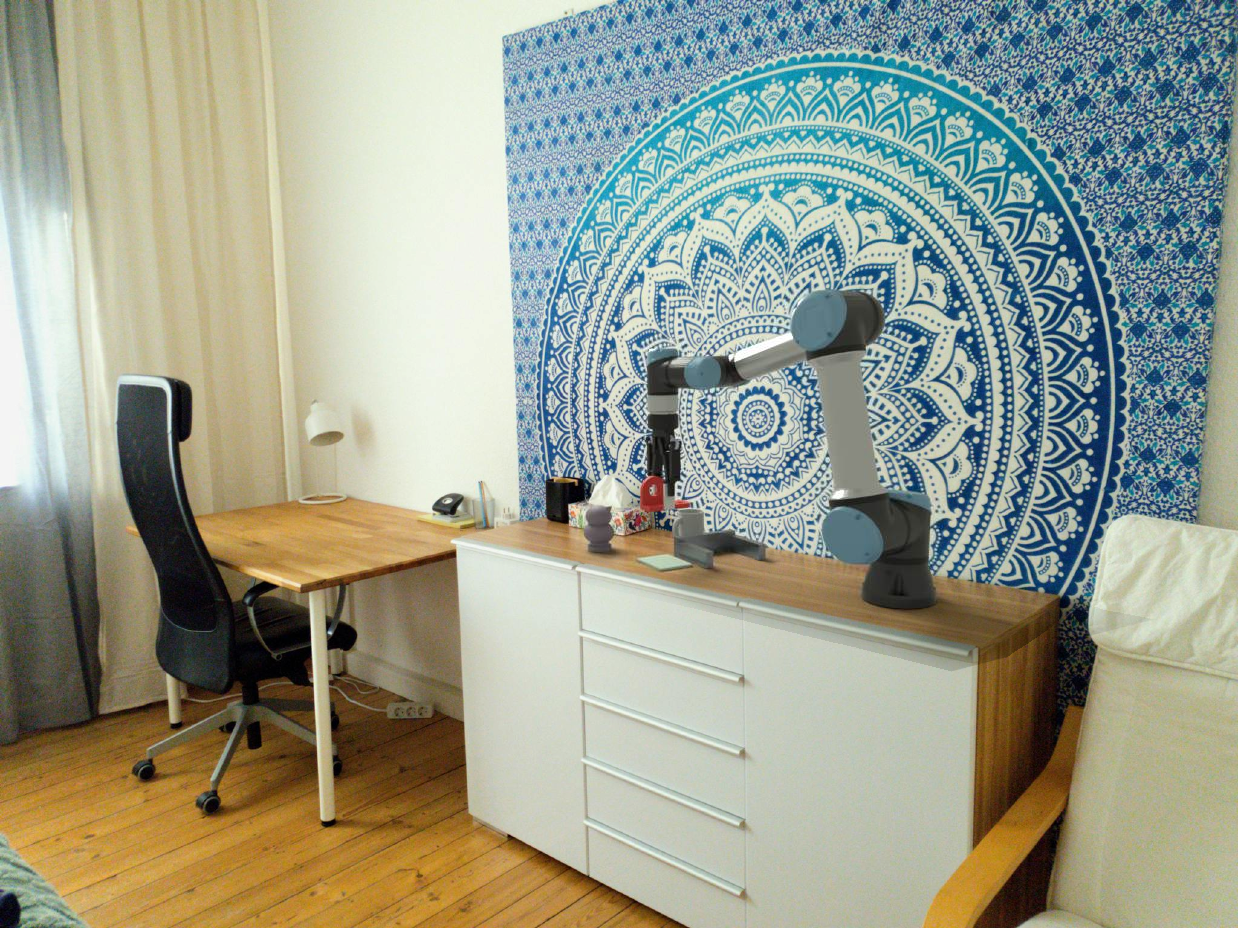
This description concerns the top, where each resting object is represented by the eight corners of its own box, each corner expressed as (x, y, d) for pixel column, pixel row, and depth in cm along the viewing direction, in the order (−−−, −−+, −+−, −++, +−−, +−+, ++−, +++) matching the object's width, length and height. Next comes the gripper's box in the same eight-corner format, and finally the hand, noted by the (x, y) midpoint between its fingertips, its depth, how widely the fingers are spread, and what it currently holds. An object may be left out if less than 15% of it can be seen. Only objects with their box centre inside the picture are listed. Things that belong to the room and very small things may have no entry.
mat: (692, 566, 214) (692, 564, 214) (660, 571, 210) (660, 568, 210) (667, 556, 225) (667, 554, 224) (636, 560, 220) (636, 558, 220)
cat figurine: (577, 549, 233) (576, 505, 232) (597, 544, 239) (596, 501, 237) (601, 554, 228) (600, 508, 226) (621, 548, 234) (620, 504, 232)
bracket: (649, 512, 211) (649, 479, 210) (640, 508, 215) (640, 477, 214) (691, 507, 216) (692, 475, 215) (682, 504, 220) (682, 473, 219)
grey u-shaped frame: (765, 559, 220) (765, 539, 219) (706, 568, 212) (706, 548, 211) (721, 544, 237) (721, 526, 236) (665, 552, 229) (664, 533, 228)
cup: (709, 543, 238) (709, 511, 237) (682, 549, 232) (682, 516, 231) (690, 539, 244) (690, 507, 242) (664, 545, 237) (663, 512, 236)
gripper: (695, 414, 206) (696, 511, 209) (658, 409, 222) (658, 500, 225) (668, 415, 203) (668, 515, 206) (631, 411, 218) (633, 503, 221)
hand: (663, 507), depth 215 cm, fingers closed on bracket, 4 cm apart
